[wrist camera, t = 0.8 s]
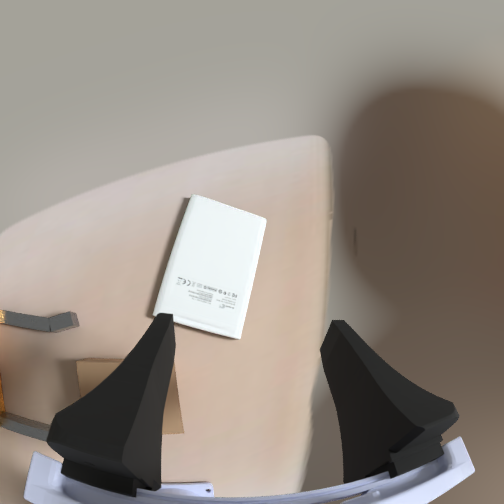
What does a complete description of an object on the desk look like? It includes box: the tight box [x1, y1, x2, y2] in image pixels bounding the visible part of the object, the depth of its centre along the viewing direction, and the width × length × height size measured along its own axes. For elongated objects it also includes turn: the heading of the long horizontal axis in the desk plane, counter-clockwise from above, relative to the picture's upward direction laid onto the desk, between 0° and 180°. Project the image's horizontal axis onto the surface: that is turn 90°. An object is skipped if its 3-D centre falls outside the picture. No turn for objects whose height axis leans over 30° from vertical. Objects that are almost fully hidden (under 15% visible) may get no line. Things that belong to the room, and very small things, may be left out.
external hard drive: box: [153, 194, 267, 339], centre depth 26 cm, size 2×8×12 cm
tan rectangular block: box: [76, 358, 184, 434], centre depth 19 cm, size 6×8×4 cm
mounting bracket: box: [0, 310, 79, 441], centre depth 15 cm, size 14×12×4 cm
